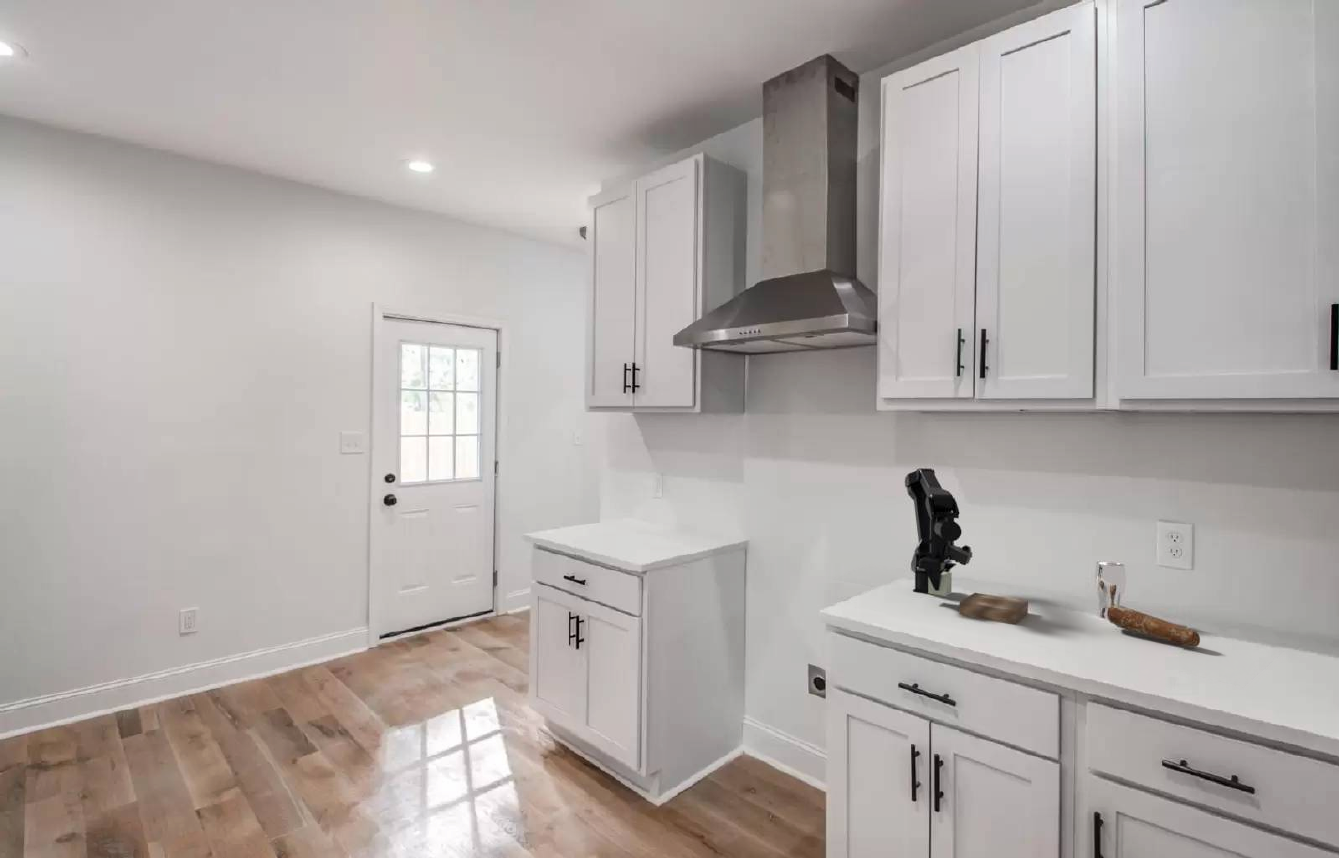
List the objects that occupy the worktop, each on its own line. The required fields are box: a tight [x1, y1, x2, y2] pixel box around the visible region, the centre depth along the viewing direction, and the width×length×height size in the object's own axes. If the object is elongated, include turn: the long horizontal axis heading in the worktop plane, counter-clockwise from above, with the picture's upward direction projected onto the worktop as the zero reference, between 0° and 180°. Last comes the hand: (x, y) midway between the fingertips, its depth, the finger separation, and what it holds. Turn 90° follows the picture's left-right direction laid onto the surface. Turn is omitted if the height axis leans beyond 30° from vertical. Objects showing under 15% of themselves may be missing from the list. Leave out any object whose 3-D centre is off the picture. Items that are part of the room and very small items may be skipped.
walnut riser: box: [959, 592, 1029, 625], centre depth 181 cm, size 14×14×4 cm
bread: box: [1107, 604, 1201, 647], centre depth 160 cm, size 6×19×6 cm, turn 33°
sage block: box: [928, 571, 953, 597], centre depth 192 cm, size 5×5×6 cm
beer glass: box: [1094, 561, 1127, 621], centre depth 178 cm, size 7×7×15 cm
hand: (939, 589), depth 192 cm, fingers closed on sage block, 5 cm apart
